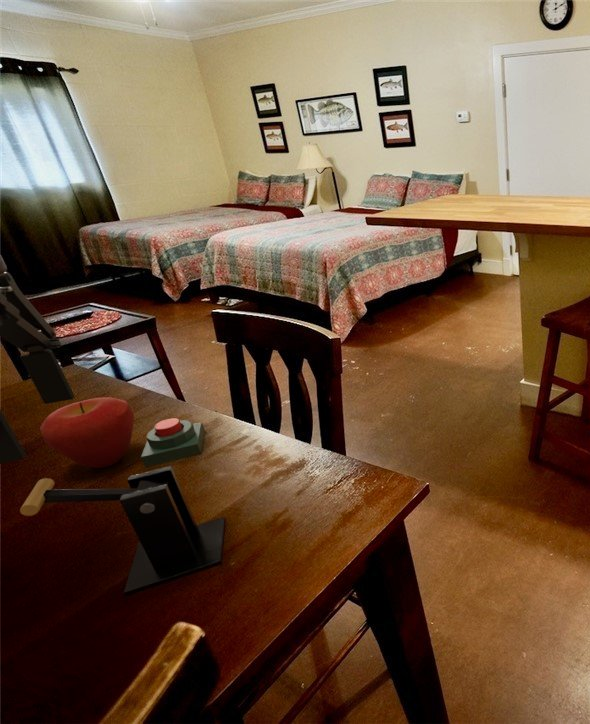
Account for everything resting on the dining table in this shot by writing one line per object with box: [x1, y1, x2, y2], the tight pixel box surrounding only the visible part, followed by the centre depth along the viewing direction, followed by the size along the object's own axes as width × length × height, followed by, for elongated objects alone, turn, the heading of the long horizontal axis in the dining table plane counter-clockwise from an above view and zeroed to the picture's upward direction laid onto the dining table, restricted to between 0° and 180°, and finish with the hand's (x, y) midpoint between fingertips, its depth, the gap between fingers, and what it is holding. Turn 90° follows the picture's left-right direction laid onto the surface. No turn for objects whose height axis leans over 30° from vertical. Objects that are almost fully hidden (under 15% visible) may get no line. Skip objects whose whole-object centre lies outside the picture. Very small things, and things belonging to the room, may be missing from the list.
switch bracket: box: [119, 465, 227, 597], centre depth 60 cm, size 10×9×13 cm
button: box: [153, 417, 182, 437], centre depth 83 cm, size 4×4×2 cm
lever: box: [19, 477, 169, 517], centre depth 56 cm, size 12×5×2 cm, turn 119°
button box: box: [140, 419, 206, 468], centre depth 84 cm, size 8×8×4 cm
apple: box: [39, 396, 135, 469], centre depth 79 cm, size 11×11×12 cm
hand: (36, 427), depth 54 cm, fingers open, 13 cm apart
